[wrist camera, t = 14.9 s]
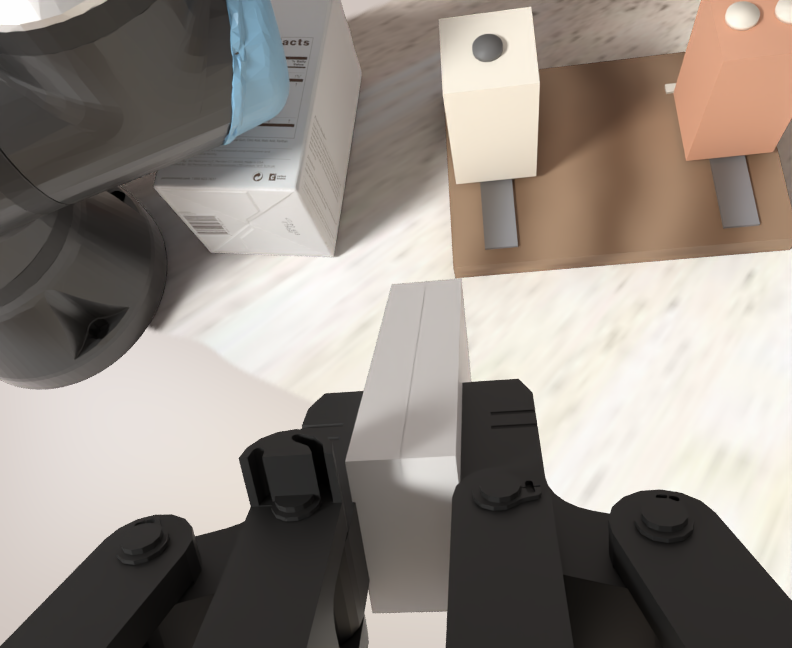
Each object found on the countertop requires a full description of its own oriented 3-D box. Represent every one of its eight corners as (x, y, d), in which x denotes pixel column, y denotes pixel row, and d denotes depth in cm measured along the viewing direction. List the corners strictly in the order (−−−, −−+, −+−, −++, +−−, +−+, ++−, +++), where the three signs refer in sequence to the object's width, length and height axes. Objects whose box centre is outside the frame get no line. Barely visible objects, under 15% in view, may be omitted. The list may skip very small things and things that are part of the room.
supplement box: (208, 255, 51) (249, 75, 56) (335, 261, 49) (366, 74, 54) (146, 185, 42) (201, -20, 47) (297, 188, 41) (337, -24, 46)
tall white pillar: (456, 184, 47) (442, 90, 39) (452, 118, 49) (438, 14, 41) (536, 176, 47) (540, 79, 38) (529, 109, 48) (531, 2, 40)
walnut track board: (455, 278, 47) (453, 266, 46) (445, 95, 52) (442, 79, 51) (789, 249, 45) (799, 236, 43) (744, 60, 50) (752, 41, 48)
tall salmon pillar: (686, 161, 45) (724, 57, 37) (673, 93, 47) (707, -22, 39) (772, 152, 45) (832, 44, 36) (756, 83, 47) (810, -35, 38)
